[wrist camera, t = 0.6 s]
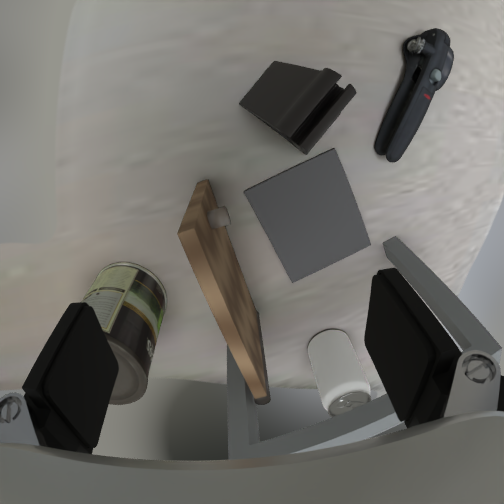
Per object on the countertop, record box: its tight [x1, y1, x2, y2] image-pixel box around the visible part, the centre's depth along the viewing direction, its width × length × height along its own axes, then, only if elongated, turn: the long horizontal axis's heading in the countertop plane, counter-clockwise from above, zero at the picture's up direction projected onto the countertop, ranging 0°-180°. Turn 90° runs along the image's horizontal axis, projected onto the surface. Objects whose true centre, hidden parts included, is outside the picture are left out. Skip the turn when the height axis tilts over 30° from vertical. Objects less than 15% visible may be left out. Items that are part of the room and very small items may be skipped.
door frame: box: [227, 236, 502, 460], centre depth 31 cm, size 24×2×22 cm, turn 117°
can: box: [308, 330, 371, 417], centre depth 40 cm, size 6×6×12 cm
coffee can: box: [82, 262, 167, 405], centre depth 33 cm, size 10×10×14 cm
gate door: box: [177, 180, 271, 405], centre depth 31 cm, size 19×3×14 cm, turn 17°
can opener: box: [375, 28, 454, 162], centre depth 28 cm, size 18×7×6 cm, turn 156°
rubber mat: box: [244, 148, 371, 283], centre depth 36 cm, size 11×13×1 cm
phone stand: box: [239, 61, 356, 155], centre depth 25 cm, size 9×6×12 cm, turn 52°
